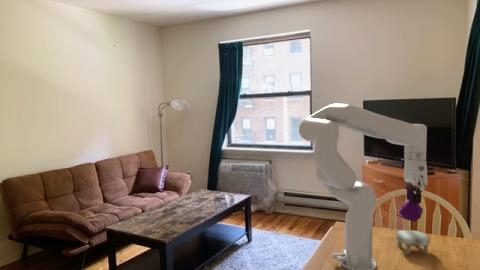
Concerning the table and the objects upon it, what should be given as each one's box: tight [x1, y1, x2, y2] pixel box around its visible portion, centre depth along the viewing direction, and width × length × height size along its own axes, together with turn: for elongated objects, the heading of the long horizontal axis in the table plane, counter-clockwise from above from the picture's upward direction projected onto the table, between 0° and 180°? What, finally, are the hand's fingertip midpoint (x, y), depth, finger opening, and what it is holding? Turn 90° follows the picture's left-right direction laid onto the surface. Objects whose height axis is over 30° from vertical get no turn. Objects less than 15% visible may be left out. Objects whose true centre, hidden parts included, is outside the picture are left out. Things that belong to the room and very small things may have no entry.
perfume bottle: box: [399, 182, 424, 222], centre depth 135 cm, size 8×8×18 cm
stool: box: [395, 229, 431, 257], centre depth 138 cm, size 12×12×6 cm
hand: (413, 200), depth 136 cm, fingers closed on perfume bottle, 3 cm apart
